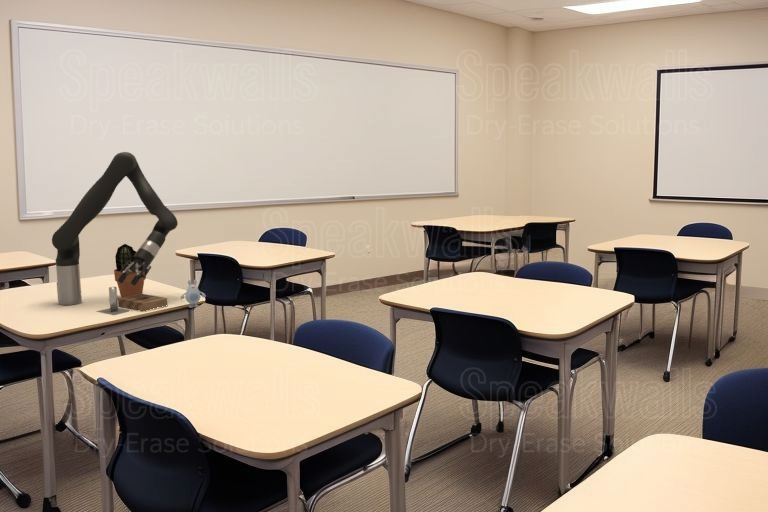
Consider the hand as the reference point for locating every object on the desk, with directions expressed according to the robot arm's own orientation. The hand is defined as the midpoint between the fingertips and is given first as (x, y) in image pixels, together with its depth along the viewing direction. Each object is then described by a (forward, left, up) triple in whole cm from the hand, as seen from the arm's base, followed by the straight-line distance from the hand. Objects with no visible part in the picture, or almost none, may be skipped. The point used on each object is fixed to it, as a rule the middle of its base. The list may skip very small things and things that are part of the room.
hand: (126, 283), depth 290 cm
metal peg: (0, -6, -11) cm, 13 cm away
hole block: (+3, +5, -11) cm, 13 cm away
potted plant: (-18, +15, -11) cm, 26 cm away
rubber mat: (0, -6, -11) cm, 13 cm away
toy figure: (+21, +17, -11) cm, 30 cm away
